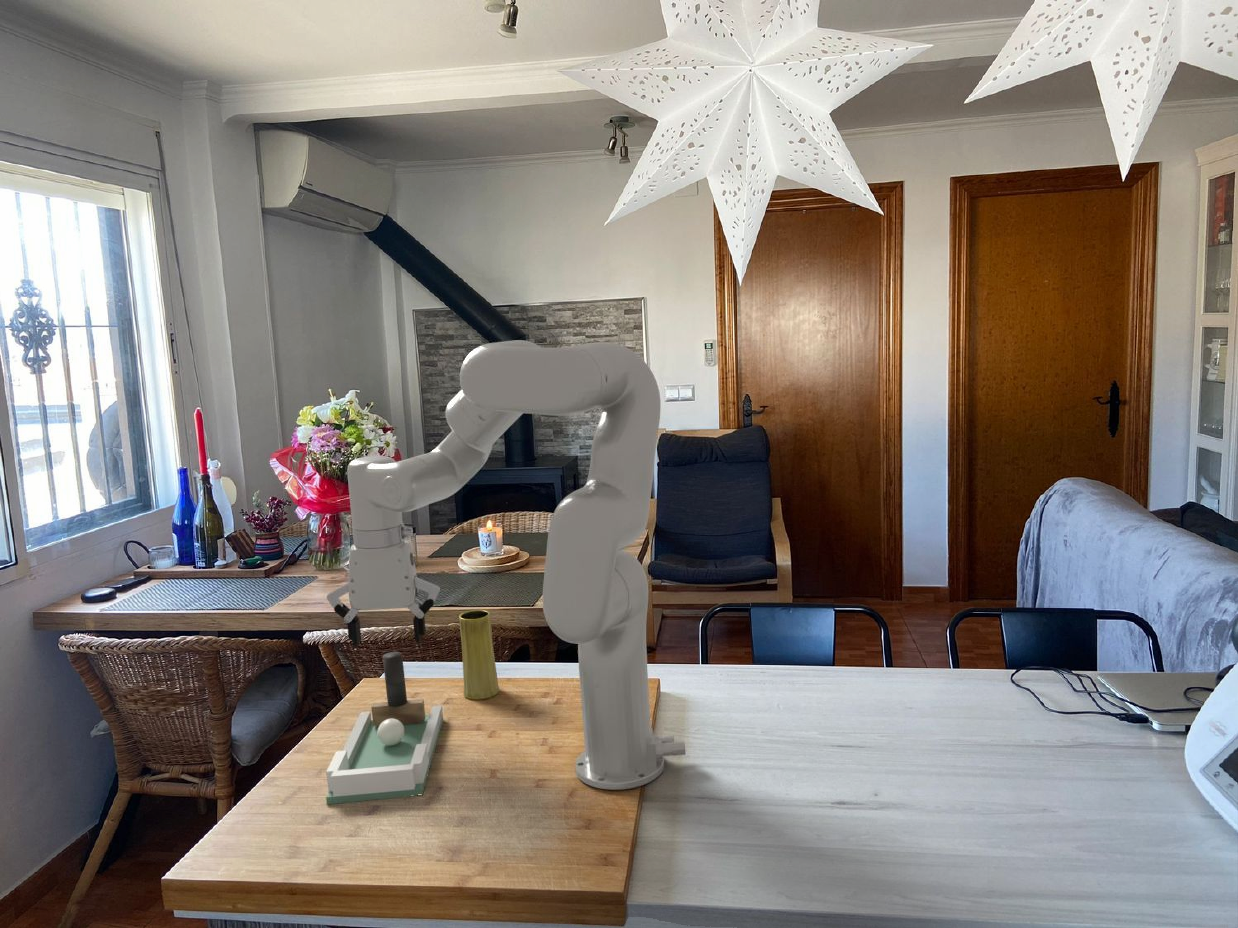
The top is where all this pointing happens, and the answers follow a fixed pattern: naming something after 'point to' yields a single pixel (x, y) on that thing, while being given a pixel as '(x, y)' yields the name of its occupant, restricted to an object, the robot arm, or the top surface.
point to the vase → (478, 655)
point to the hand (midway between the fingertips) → (388, 641)
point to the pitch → (383, 761)
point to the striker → (397, 695)
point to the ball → (390, 732)
